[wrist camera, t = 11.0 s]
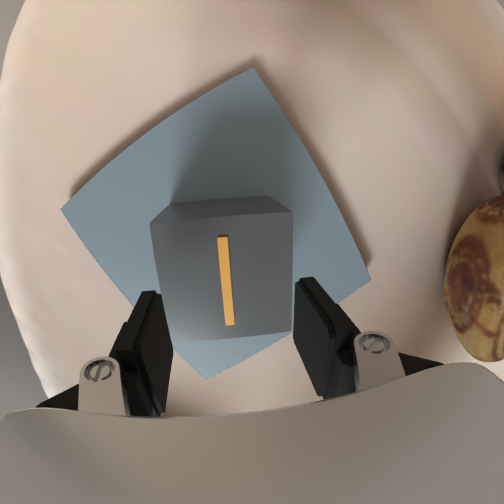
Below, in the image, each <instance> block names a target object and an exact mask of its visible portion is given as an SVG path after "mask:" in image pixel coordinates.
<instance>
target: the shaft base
mask: <svg viewBox="0 0 504 504" xmlns="http://www.w3.org/2000/svg"><path fill="white" fill-rule="evenodd" d="M254 196H269V197H271V198H272V199H274V200H275V201H277V202H278V203H280V204H281V205H283V206H285V207H286V208H288V209H289V210H291V211H292V212H293V280H292V324H291V331H289V332H282V333H275V334H267V335H259V336H250V337H241V338H230V339H219V340H207V341H193V342H175V343H172V345H173V349H174V350H175V351H176V352H177V353H178V354H179V355H180V356H181V357H182V358H183V359H184V360H185V361H186V362H188V363H189V364H190V365H191V366H192V367H193V368H194V369H195V370H196V371H197V372H198V373H199V374H200V375H201V376H203V377H204V378H205V379H208V378H210V377H212V376H214V375H216V374H218V373H220V372H222V371H224V370H226V369H228V368H230V367H232V366H234V365H236V364H237V363H239V362H241V361H243V360H245V359H247V358H248V357H250V356H252V355H254V354H256V353H257V352H259V351H261V350H263V349H265V348H266V347H268V346H270V345H271V344H273V343H275V342H277V341H278V340H280V339H282V338H283V337H285V336H287V335H288V334H290V333H292V332H293V324H294V295H295V282H298V281H299V279H300V278H303V277H312V276H313V277H314V278H315V279H316V280H317V281H318V283H319V284H320V285H321V286H322V288H323V289H324V290H325V291H326V292H327V294H328V295H329V296H330V297H331V299H332V300H333V301H334V302H335V303H339V302H340V301H341V300H343V299H344V298H346V297H347V296H349V295H350V294H352V293H353V292H355V291H356V290H357V289H359V288H360V287H362V286H363V285H364V284H366V283H367V282H369V281H370V280H371V277H370V275H369V273H368V270H367V268H366V266H365V263H364V261H363V259H362V257H361V254H360V252H359V250H358V248H357V245H356V243H355V241H354V239H353V237H352V235H351V233H350V230H349V228H348V226H347V224H346V222H345V220H344V218H343V216H342V214H341V212H340V210H339V208H338V206H337V204H336V202H335V200H334V198H333V196H332V194H331V193H330V191H329V189H328V187H327V185H326V183H325V181H324V179H323V178H322V176H321V174H320V172H319V170H318V168H317V167H316V165H315V163H314V161H313V160H312V158H311V156H310V154H309V153H308V151H307V149H306V148H305V146H304V144H303V142H302V141H301V139H300V137H299V136H298V134H297V133H296V131H295V129H294V128H293V126H292V124H291V123H290V121H289V120H288V118H287V117H286V115H285V113H284V112H283V110H282V109H281V107H280V106H279V104H278V103H277V101H276V100H275V98H274V97H273V95H272V94H271V92H270V91H269V89H268V88H267V86H266V85H265V83H264V82H263V81H262V79H261V78H260V76H259V75H258V74H257V72H256V71H255V69H254V68H251V69H249V70H247V71H245V72H243V73H241V74H239V75H237V76H235V77H233V78H231V79H230V80H228V81H226V82H224V83H222V84H221V85H219V86H217V87H215V88H214V89H212V90H210V91H208V92H207V93H205V94H203V95H202V96H200V97H198V98H197V99H195V100H194V101H192V102H190V103H189V104H187V105H186V106H184V107H183V108H181V109H180V110H178V111H177V112H175V113H174V114H172V115H171V116H169V117H168V118H166V119H165V120H163V121H162V122H161V123H159V124H158V125H156V126H155V127H154V128H152V129H151V130H149V131H148V132H147V133H145V134H144V135H143V136H141V137H140V138H139V139H138V140H136V141H135V142H134V143H132V144H131V145H130V146H129V147H127V148H126V149H125V150H124V151H123V152H121V153H120V154H119V155H118V156H116V157H115V158H114V159H113V160H112V161H111V162H109V163H108V164H107V165H106V166H105V167H104V168H103V169H101V170H100V171H99V172H98V173H97V174H96V175H95V176H94V177H93V178H92V179H90V180H89V181H88V182H87V183H86V184H85V185H84V186H83V187H82V188H81V189H80V190H79V191H78V192H77V193H76V194H75V195H74V196H73V197H72V198H71V199H70V200H69V201H68V202H67V203H66V204H65V205H64V206H63V207H62V208H61V211H62V212H63V214H64V216H65V217H66V219H67V220H68V222H69V223H70V225H71V226H72V228H73V229H74V230H75V232H76V233H77V235H78V236H79V238H80V239H81V240H82V242H83V243H84V245H85V246H86V247H87V249H88V250H89V252H90V253H91V254H92V256H93V257H94V258H95V260H96V261H97V262H98V264H99V265H100V266H101V267H102V269H103V270H104V271H105V273H106V274H107V275H108V276H109V278H110V279H111V280H112V281H113V283H114V284H115V285H116V286H117V287H118V289H119V290H120V291H121V292H122V293H123V295H124V296H125V297H126V298H127V299H128V300H129V302H130V303H131V304H132V305H133V306H134V307H135V305H136V302H137V300H138V298H139V296H140V294H141V292H142V291H151V290H155V291H156V292H157V294H158V293H160V294H161V291H160V286H159V281H158V276H157V270H156V264H155V258H154V252H153V246H152V239H151V232H150V224H149V223H150V222H151V221H152V220H153V219H154V218H155V217H156V216H157V215H158V214H159V213H160V212H161V211H162V210H164V209H165V208H166V207H167V206H168V205H169V204H170V203H179V202H189V201H200V200H212V199H224V198H238V197H254Z"/></svg>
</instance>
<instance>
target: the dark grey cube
mask: <svg viewBox="0 0 504 504" xmlns="http://www.w3.org/2000/svg"><path fill="white" fill-rule="evenodd" d="M149 224H150V232H151V239H152V246H153V252H154V258H155V264H156V270H157V276H158V281H159V286H160V291H161V296H162V300H163V305H164V310H165V315H166V319H167V324H168V328H169V333H170V337H171V341H172V343H175V342H193V341H207V340H219V339H230V338H241V337H250V336H259V335H267V334H275V333H282V332H289V331H291V324H292V280H293V212H292V211H291V210H289V209H288V208H286V207H285V206H283V205H281V204H280V203H278V202H277V201H275V200H274V199H272V198H271V197H269V196H254V197H238V198H224V199H212V200H200V201H189V202H179V203H170V204H169V205H168V206H167V207H166V208H165V209H164V210H162V211H161V212H160V213H159V214H158V215H157V216H156V217H155V218H154V219H153V220H152V221H151V222H150V223H149Z"/></svg>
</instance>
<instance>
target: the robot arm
mask: <svg viewBox="0 0 504 504" xmlns="http://www.w3.org/2000/svg"><path fill="white" fill-rule="evenodd" d="M293 339H294V343H295V345H296V348H297V350H298V352H299V354H300V357H301V359H302V361H303V363H304V366H305V368H306V370H307V373H308V375H309V377H310V379H311V382H312V384H313V386H314V389H315V391H316V393H317V395H318V396H322V397H323V399H324V400H320V401H315V402H310V403H305V404H300V405H295V406H289V407H283V408H277V409H270V410H263V411H255V412H247V413H237V414H226V415H212V416H190V417H160V414H161V413H164V412H165V408H166V400H167V393H168V385H169V378H170V371H171V365H172V358H173V345H172V341H171V337H170V333H169V328H168V324H167V319H166V315H165V310H164V305H163V300H162V296H161V294H160V293H158V294H157V292H156V291H155V290H151V291H142V292H141V294H140V296H139V298H138V300H137V302H136V305H135V307H134V309H133V311H132V313H131V315H130V317H129V319H128V322H124V324H123V326H122V328H121V330H120V332H119V334H118V336H117V339H116V341H115V343H114V345H113V347H112V350H111V352H110V354H109V356H108V357H97V358H94V359H92V360H90V361H88V362H87V363H86V364H84V366H83V367H82V368H81V371H80V379H79V384H77V385H75V386H73V387H71V388H69V389H68V390H66V391H64V392H62V393H60V394H58V395H56V396H54V397H52V398H50V399H48V400H46V401H44V402H42V403H40V404H39V405H37V406H36V407H35V408H30V409H22V410H17V411H14V412H11V413H9V414H7V415H6V416H4V417H3V418H2V419H1V421H0V504H504V382H503V381H502V380H501V379H500V378H498V377H497V376H496V375H495V374H494V373H492V372H491V371H490V370H488V369H487V368H485V367H484V366H482V365H479V364H476V363H451V364H446V365H445V364H442V363H440V362H436V361H431V360H427V359H423V358H419V357H415V356H410V355H406V354H402V353H399V352H397V349H396V346H395V344H394V342H393V340H392V339H391V338H390V337H389V336H388V335H386V334H384V333H381V332H377V331H367V332H363V333H361V332H360V331H359V329H358V328H357V327H356V326H355V324H354V323H353V322H352V321H351V320H350V318H349V317H348V316H347V315H346V313H345V312H344V311H343V310H342V308H341V307H340V306H339V305H338V304H337V303H335V302H334V301H333V300H332V299H331V297H330V296H329V295H328V294H327V292H326V291H325V290H324V289H323V288H322V286H321V285H320V284H319V283H318V281H317V280H316V279H315V278H314V277H313V276H312V277H303V278H300V279H299V281H298V282H295V295H294V324H293Z"/></svg>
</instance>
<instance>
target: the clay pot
mask: <svg viewBox="0 0 504 504" xmlns="http://www.w3.org/2000/svg"><path fill="white" fill-rule="evenodd" d="M444 302H445V307H446V311H447V316H448V318H449V321H450V323H451V326H452V328H453V330H454V332H455V334H456V336H457V338H458V339H459V341H460V343H461V344H462V346H463V347H464V348H465V350H466V351H467V352H468V353H469V354H470V355H471V356H473V357H474V358H475V359H477V360H480V361H483V362H496V361H500V360H502V359H504V195H500V196H497V197H494V198H492V199H489V200H487V201H485V202H484V203H482V204H481V205H480V206H478V207H477V208H476V209H475V210H474V211H473V212H472V213H471V214H470V215H469V217H468V218H467V219H466V221H465V222H464V223H463V225H462V227H461V228H460V230H459V232H458V234H457V236H456V237H455V240H454V242H453V245H452V247H451V249H450V253H449V256H448V260H447V263H446V269H445V274H444Z"/></svg>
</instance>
